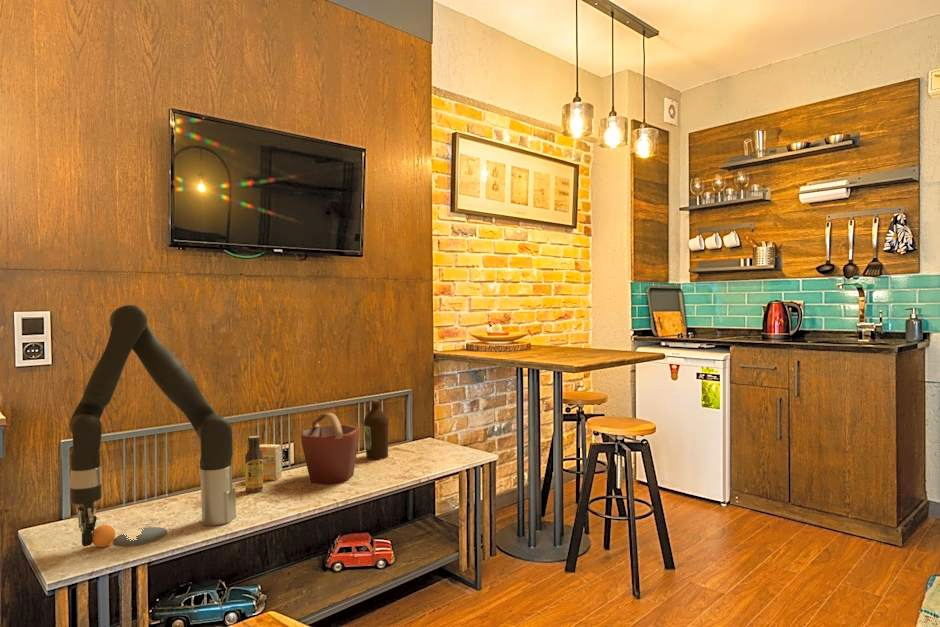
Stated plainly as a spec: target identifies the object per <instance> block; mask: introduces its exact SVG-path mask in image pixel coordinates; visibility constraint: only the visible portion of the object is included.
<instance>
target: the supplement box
mask: <svg viewBox="0 0 940 627" xmlns="http://www.w3.org/2000/svg"><path fill="white" fill-rule="evenodd" d="M259 446H260V450H261V452H262V455H263V481H277V480H280V479H281V478H282V477H283V476H282V444H268V443H267V444H264V443H263V444H262V443H261V444H259Z"/></svg>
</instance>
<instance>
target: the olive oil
mask: <svg viewBox="0 0 940 627" xmlns="http://www.w3.org/2000/svg"><path fill="white" fill-rule="evenodd" d="M363 430H364V442H365V452H366V453H365V455H366V459H368V460H373V461H374V460H382V459H383V460H384V459H386V458H388V457H389V418H388V415H387V414H385V413H384V411H383V410H381V408H380V400H379V399H372V400H371V409H370V411H369V412H368V413H367V414H366V415H365V418H364V420H363Z"/></svg>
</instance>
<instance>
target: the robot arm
mask: <svg viewBox="0 0 940 627" xmlns="http://www.w3.org/2000/svg"><path fill="white" fill-rule="evenodd" d="M109 325H110V328H111V329H110V334H109V337H108V340H107V344H106V346H105V348H104V351H103V353H102V355H101V356H100V359H99V361H98V362H97V364H96V366H95V367H94V370H93V371H92V373H91V376H90V378H89V380H88V381H87V385H86V387H85V389H84V392H83V395H82V397H81V399H80V401H79V403H78V405H77V406H76V407H75V410H74V412H73V414H72V415H71V418H70V420H69V424H68V427H69V430H70V433H71V434H72V450H71V455H70V476H69V496H70V497H69V498H70V500H69V501H70V503H71V504H73V505H78V507H77V508H76V515H77V522H78V528H79V530H80V532H81V545H82V546H83V547H89V546H91V545H93V543H92V532H93V531H94V530H95V529H96V524H97V523H96V522H97V519H98V516H97V515H96V513H97V512H96V511H97V507H96V506H95V505H94V503H96V502H98V501H100V500H101V499H102V497H103V495H102V494H103V490H102V489H103V486H102V485H103V484H102V480H103V478H102V475H103V474H102V469H101V441H102V429H103V428H102V421H101V420H100V419H101V417H102V415H103V412H104V410H105V408H106V407H107V406H109V403H110V402H111V400H112V397H113V395H114V393H115V392H116V387H117V385H118V384H119V382H120V379H121V378H120V377H121V375H122V372H123V370H124V368H125V365H126V363H127V359H128V357H129V356H130V353H131V351H133V352H134V353H135V355H136V356H137V358H138V359H139V360H140V362H141V364H142V365H143V367H144V368H145V370H146V372H147V373H148V374H149V376H150V377H151V379H152V381H154V383H155V384H156V386H158V388H159V389H160V390H161V391H162V393H163V394H164V395H165V396H166V397H167V398H168V400H170V401H171V403H173V404H174V405H175V406H176V407H177V408H178V409H179V410H180V411H181V412H182V413H183V414H184V416H185V417H186V418H187V420H188V421H189V423H190V425H191V427H192V428H193V430H194V431H195V433H196V434H197V437H198V438H199V439H200V459H199V474H200V476H199V478H200V479H199V480H200V497H201V498H200V500H201V503H200V504H201V522H202V525H204V526H218V525H223V524H230V523H231V521H233V520H234V519H235V518H237V504H236V501H237V500H236V488H235V487H234V486H233V473H232V472H233V471H232V470H233V469H232V467H233V466H232V459H233V455H234V452H233V450H234V449H233V447H234V446H233V429H232V425H231V423H230V422H229V420H227V419H226V418H224V417H223V416H222V415H221V414H219V413H218V412H217V411H216V410H215V409H214V407H212V406H211V404H210V403H208V401H207V400H206V399H205V397H204V396H203V394H202V391H201V390H200V388H199V386H198V384H197V382H196V381H195V378H194V377H193V375H192V374H191V373H190V372H189V370H188V368H186V366H185V365H184V364H183V362H182V361H181V360H180V358H178V357H177V356H176V354H174V353H173V352H172V351H171V350H170V349H169V348H167V347H166V346H165V345H164V344H163V343H162V342H161V341H160V340H159V339H158V338H157V336H156V335H155V333H154V332H153V330H152V329H151V327H150V326H149V324H148V316H147V314H146V312H145V310H143V309H142V308H141V307H140V306H137V305H134V304H127V305H126V304H125V305H122V306H120V307H117V308H116V309H115V310H113V312H112V313H111V315H110V317H109Z"/></svg>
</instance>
